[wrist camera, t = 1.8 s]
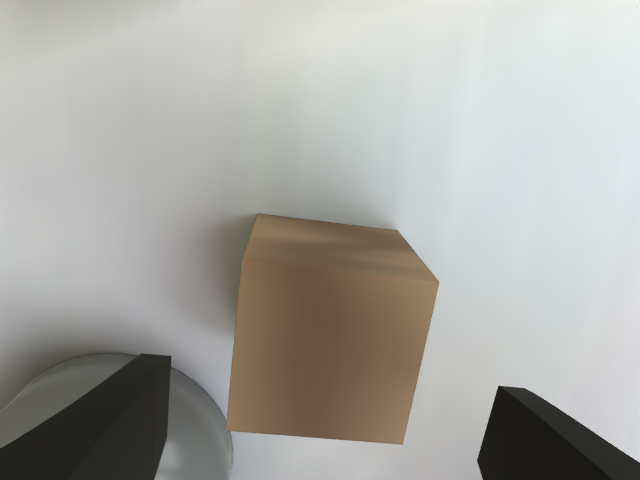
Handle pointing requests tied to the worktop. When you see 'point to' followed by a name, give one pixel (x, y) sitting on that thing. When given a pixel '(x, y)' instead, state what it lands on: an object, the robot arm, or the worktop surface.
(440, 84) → the worktop surface
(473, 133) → the worktop surface
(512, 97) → the worktop surface
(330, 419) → the walnut cube
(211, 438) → the slate pedestal
